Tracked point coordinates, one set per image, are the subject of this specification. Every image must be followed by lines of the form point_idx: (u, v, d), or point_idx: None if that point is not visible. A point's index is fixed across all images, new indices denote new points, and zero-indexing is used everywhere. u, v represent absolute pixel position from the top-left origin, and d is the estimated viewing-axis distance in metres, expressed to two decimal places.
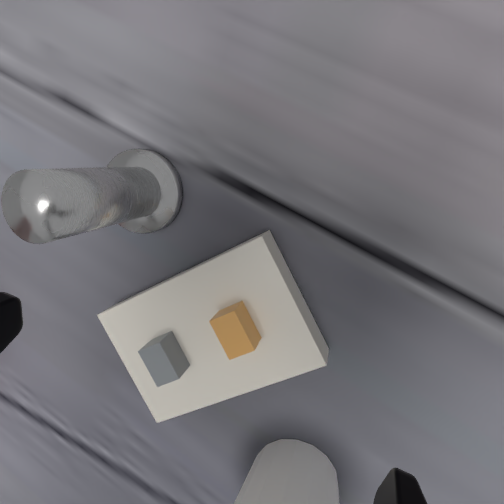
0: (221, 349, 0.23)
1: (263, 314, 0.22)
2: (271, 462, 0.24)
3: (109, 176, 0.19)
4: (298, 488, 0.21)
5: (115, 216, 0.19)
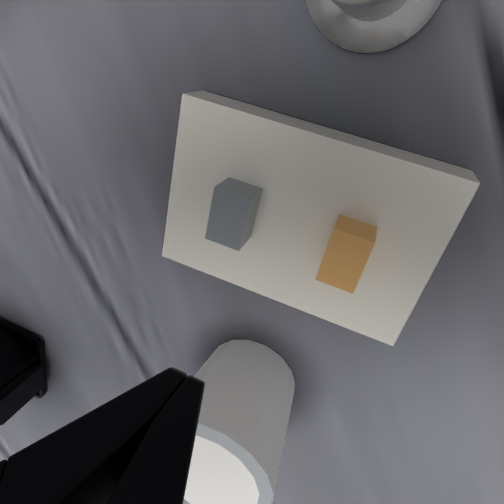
0: (301, 250, 0.18)
1: (384, 258, 0.16)
2: (253, 369, 0.21)
3: None
4: (272, 417, 0.19)
5: (374, 3, 0.10)
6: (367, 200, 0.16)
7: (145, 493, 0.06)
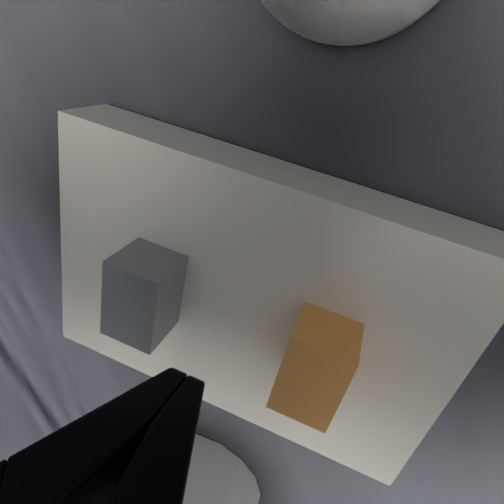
0: (251, 347, 0.12)
1: (375, 368, 0.10)
2: (195, 490, 0.15)
3: None
4: None
5: None
6: (348, 284, 0.10)
7: (145, 493, 0.06)
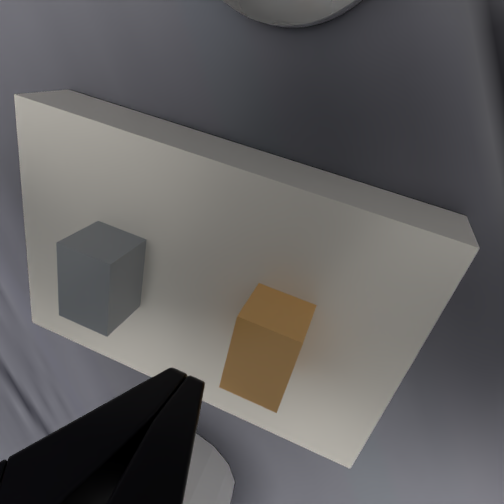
0: (210, 330, 0.12)
1: (329, 350, 0.11)
2: None
3: None
4: None
5: None
6: (298, 265, 0.10)
7: (145, 493, 0.06)
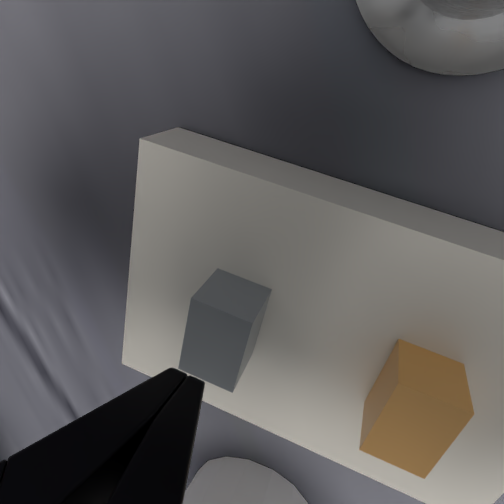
0: (331, 381, 0.11)
1: None
2: None
3: None
4: None
5: None
6: (450, 323, 0.09)
7: (145, 493, 0.06)
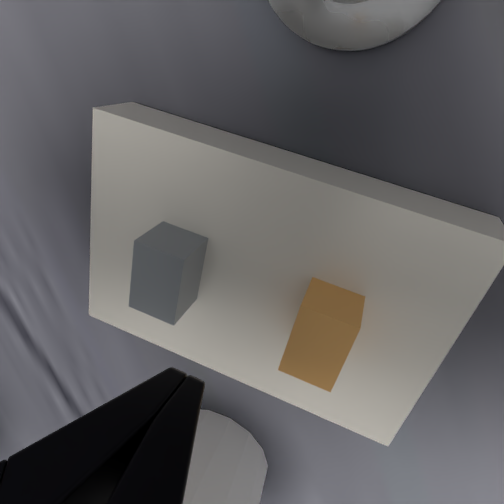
0: (263, 320, 0.13)
1: (375, 337, 0.12)
2: (209, 458, 0.16)
3: None
4: None
5: None
6: (350, 260, 0.11)
7: (145, 493, 0.06)
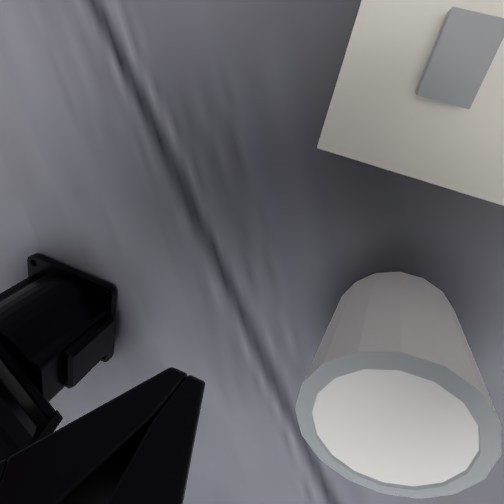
0: None
1: None
2: (427, 300, 0.16)
3: None
4: (470, 355, 0.15)
5: None
6: None
7: (145, 493, 0.06)
